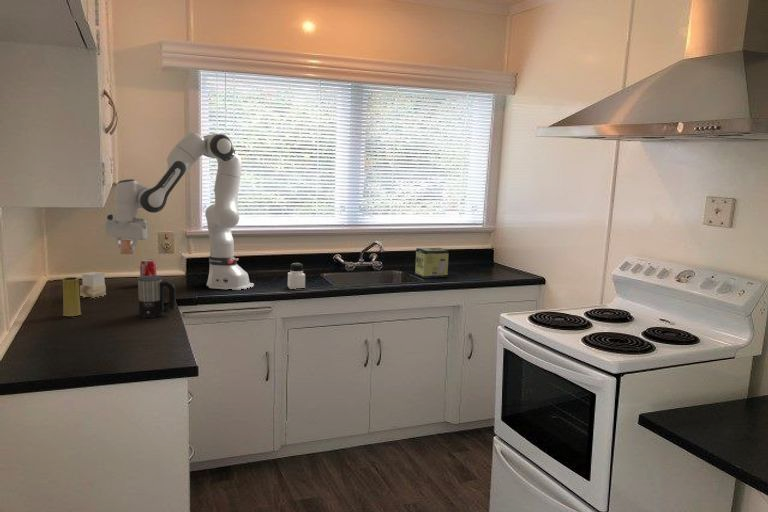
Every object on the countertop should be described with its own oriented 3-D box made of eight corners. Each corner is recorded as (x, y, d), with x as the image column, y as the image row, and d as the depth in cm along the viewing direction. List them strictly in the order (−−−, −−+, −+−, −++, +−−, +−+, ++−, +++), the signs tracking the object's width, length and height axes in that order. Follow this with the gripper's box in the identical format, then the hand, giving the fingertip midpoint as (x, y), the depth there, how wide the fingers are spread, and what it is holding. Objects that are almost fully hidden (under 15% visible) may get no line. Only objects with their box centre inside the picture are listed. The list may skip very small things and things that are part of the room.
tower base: (105, 295, 256) (105, 284, 256) (93, 298, 250) (92, 287, 249) (93, 293, 259) (92, 282, 258) (80, 297, 252) (79, 285, 251)
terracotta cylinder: (135, 253, 260) (135, 239, 259) (127, 254, 256) (127, 240, 255) (126, 252, 262) (126, 238, 261) (117, 253, 257) (117, 239, 256)
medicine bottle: (305, 289, 285) (305, 264, 283) (290, 289, 282) (291, 265, 280) (301, 286, 291) (302, 262, 290) (287, 286, 289) (287, 262, 287)
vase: (64, 314, 224) (62, 277, 222) (82, 313, 226) (80, 276, 224) (61, 318, 218) (60, 280, 216) (80, 317, 221) (78, 279, 218)
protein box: (414, 275, 333) (415, 248, 330) (438, 274, 339) (440, 247, 336) (423, 278, 323) (424, 250, 321) (447, 277, 329) (449, 250, 327)
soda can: (137, 285, 279) (136, 260, 277) (149, 282, 285) (148, 258, 283) (147, 287, 275) (147, 261, 274) (159, 284, 282) (159, 259, 280)
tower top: (104, 284, 255) (104, 273, 255) (93, 286, 250) (93, 275, 249) (93, 283, 257) (93, 271, 257) (82, 285, 252) (82, 273, 251)
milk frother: (138, 319, 222) (137, 280, 220) (136, 309, 236) (135, 272, 234) (178, 316, 228) (177, 278, 226) (174, 306, 242) (173, 271, 240)
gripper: (151, 218, 256) (151, 250, 258) (113, 214, 263) (113, 245, 265) (140, 219, 250) (140, 251, 252) (102, 215, 257) (102, 247, 259)
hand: (126, 248), depth 259 cm, fingers closed on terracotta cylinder, 5 cm apart
